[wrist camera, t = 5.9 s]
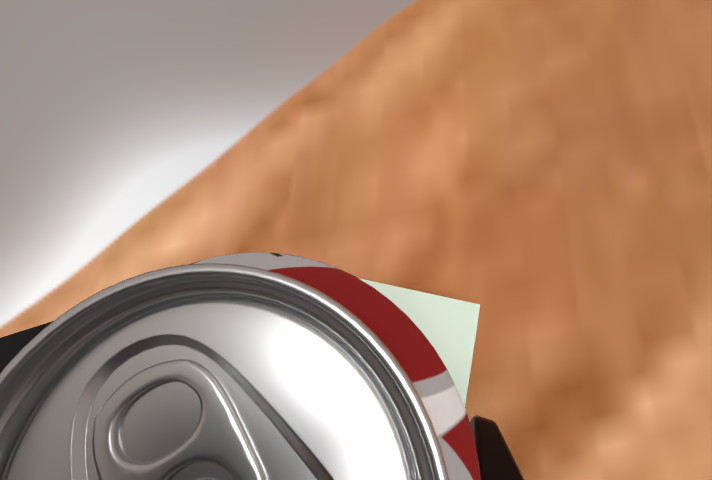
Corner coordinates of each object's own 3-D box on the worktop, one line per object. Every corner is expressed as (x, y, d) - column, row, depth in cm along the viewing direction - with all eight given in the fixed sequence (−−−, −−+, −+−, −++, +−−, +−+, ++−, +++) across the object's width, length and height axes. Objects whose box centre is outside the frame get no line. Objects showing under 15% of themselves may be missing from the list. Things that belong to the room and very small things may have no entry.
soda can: (296, 560, 14) (-51, 1311, 3) (209, 383, 16) (-209, 415, 5) (458, 444, 15) (692, 679, 4) (356, 288, 17) (299, 118, 6)
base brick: (426, 564, 17) (435, 605, 14) (192, 494, 18) (155, 517, 15) (466, 314, 19) (480, 304, 16) (260, 269, 21) (240, 253, 18)
